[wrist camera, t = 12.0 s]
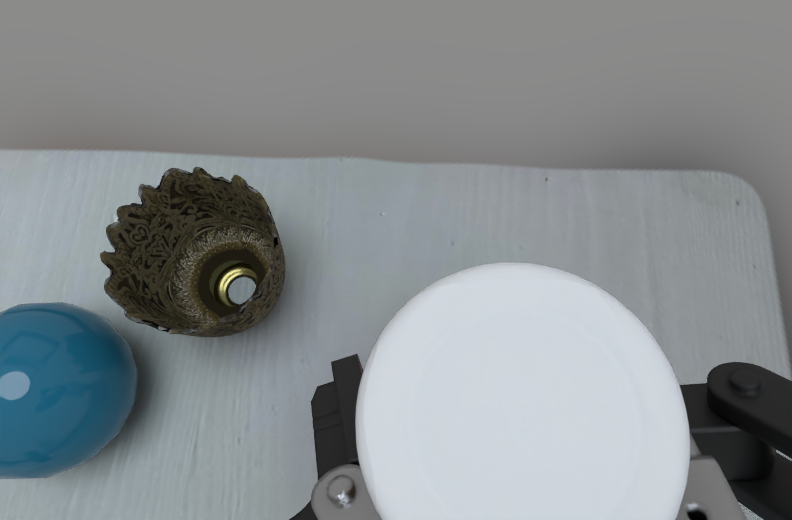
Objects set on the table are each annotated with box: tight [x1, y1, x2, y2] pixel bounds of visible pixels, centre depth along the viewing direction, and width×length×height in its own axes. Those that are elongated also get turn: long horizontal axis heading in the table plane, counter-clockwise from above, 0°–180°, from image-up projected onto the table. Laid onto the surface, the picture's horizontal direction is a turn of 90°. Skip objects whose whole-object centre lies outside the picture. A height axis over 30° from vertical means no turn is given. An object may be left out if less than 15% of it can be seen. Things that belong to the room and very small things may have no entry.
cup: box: [100, 167, 285, 337], centre depth 26 cm, size 7×7×8 cm
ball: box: [0, 302, 138, 479], centre depth 25 cm, size 8×8×8 cm
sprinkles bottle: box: [355, 262, 690, 520], centre depth 13 cm, size 5×5×14 cm
